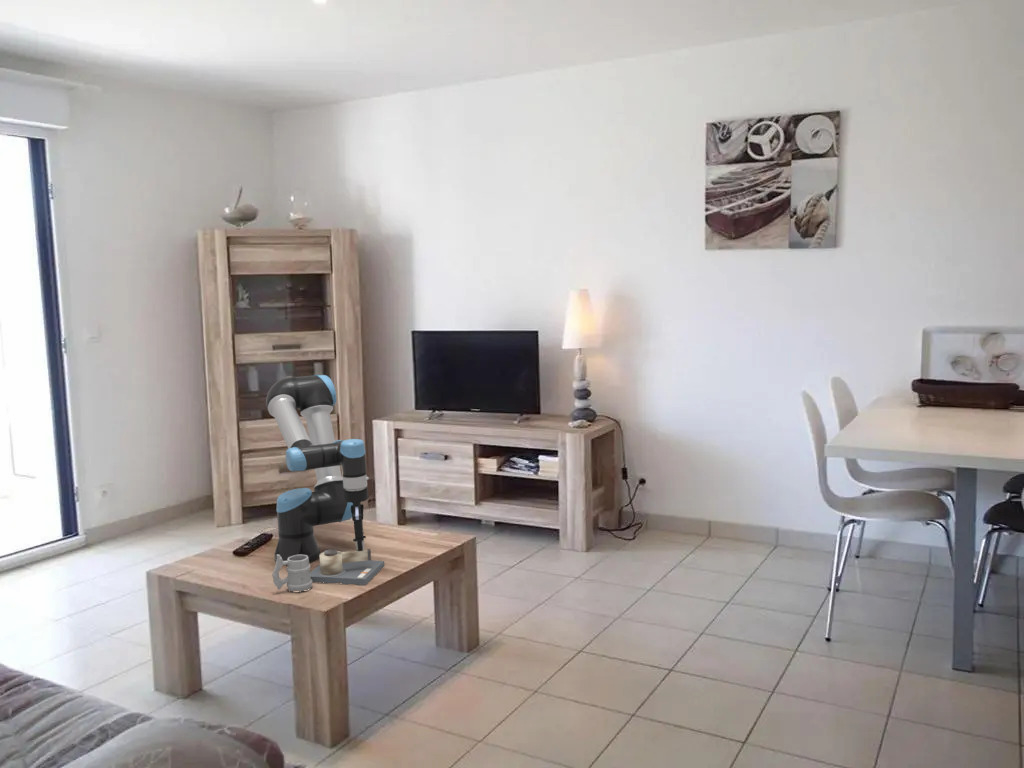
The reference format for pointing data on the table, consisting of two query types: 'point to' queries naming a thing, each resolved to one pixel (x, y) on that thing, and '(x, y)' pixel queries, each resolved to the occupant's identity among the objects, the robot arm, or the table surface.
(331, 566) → the lever
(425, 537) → the table surface
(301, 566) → the mug
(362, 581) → the grey base plate
